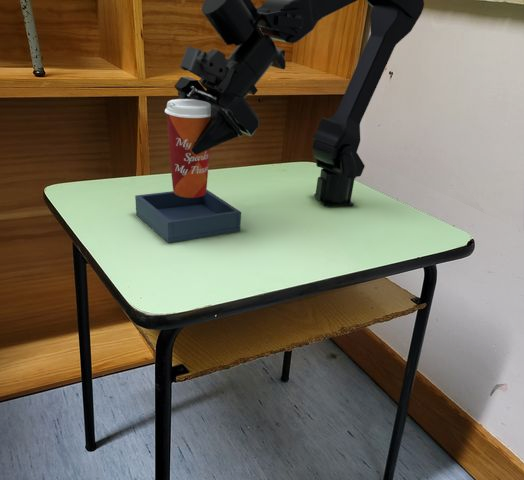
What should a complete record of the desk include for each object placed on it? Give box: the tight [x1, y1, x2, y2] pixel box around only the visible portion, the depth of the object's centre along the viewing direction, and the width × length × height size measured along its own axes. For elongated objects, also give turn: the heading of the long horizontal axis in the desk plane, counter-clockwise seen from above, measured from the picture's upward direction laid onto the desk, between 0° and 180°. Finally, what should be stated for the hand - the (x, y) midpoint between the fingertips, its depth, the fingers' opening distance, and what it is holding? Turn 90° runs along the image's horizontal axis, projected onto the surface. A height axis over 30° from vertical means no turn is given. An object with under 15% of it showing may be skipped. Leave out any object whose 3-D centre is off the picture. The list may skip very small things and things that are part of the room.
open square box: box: [134, 189, 242, 244], centre depth 93 cm, size 14×14×4 cm
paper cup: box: [164, 98, 211, 198], centre depth 87 cm, size 8×8×14 cm
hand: (182, 146), depth 86 cm, fingers closed on paper cup, 7 cm apart
